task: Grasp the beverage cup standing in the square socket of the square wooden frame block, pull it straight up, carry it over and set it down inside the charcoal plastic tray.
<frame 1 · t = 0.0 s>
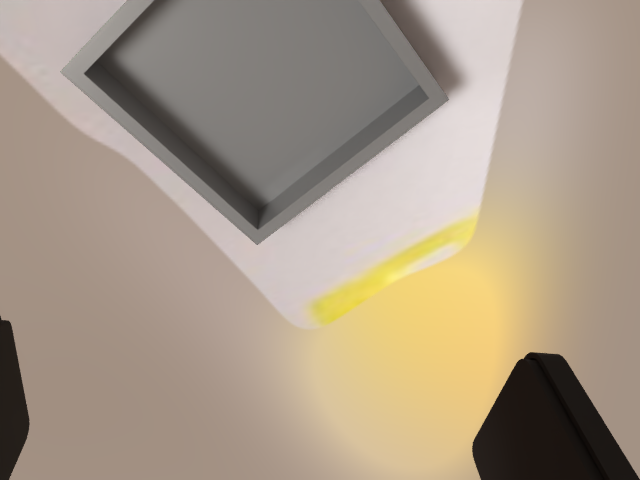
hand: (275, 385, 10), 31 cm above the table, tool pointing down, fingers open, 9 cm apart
tray: (263, 70, 37), on the table
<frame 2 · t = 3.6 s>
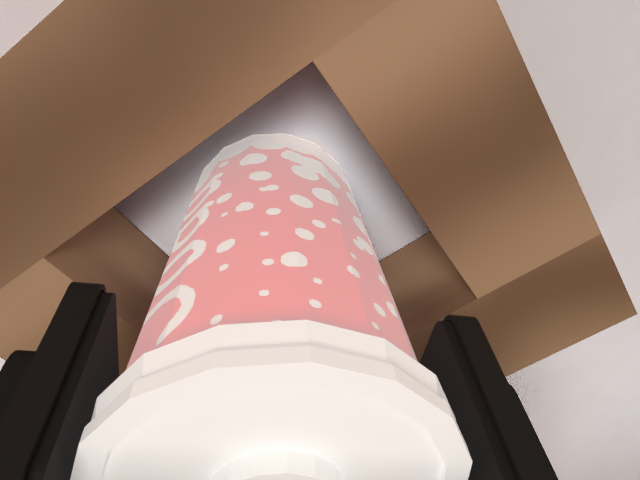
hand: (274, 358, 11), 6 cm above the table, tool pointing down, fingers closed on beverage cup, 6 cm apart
beverage cup: (274, 202, 16), resting in square wooden frame block, touching gripper
square wooden frame block: (274, 205, 16), on the table
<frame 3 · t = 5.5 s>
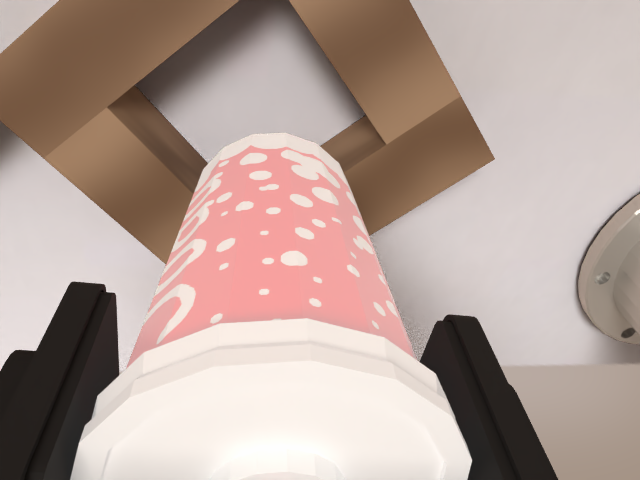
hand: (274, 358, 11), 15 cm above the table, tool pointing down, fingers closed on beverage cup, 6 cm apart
beverage cup: (274, 201, 16), point 9 cm above the table, touching gripper
square wooden frame block: (253, 95, 23), on the table
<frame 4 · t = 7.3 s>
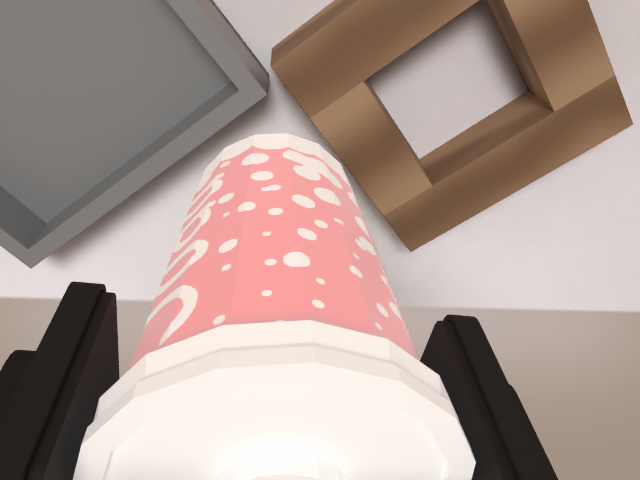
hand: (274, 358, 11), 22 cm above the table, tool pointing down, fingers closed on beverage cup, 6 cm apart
beverage cup: (275, 202, 16), point 16 cm above the table, touching gripper
square wooden frame block: (444, 76, 30), on the table
tray: (27, 36, 28), on the table
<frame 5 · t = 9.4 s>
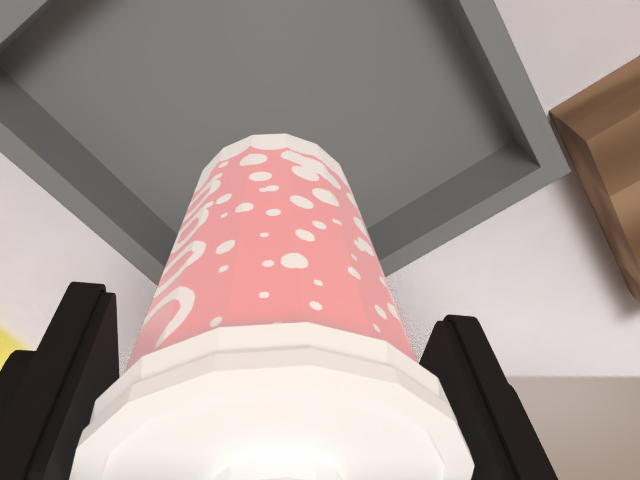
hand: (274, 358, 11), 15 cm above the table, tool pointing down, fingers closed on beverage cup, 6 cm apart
beverage cup: (274, 202, 16), point 9 cm above the table, touching gripper
tray: (275, 98, 23), on the table
when the fingers open (8 cm above the table, at t = 11.1 s): beverage cup drops 2 cm, resting on tray.
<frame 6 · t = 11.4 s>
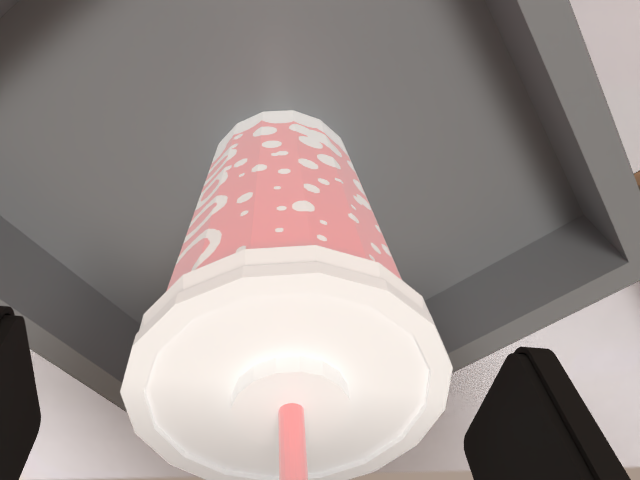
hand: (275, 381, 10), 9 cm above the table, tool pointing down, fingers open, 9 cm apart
beverage cup: (282, 174, 17), resting on tray
tray: (272, 166, 18), on the table
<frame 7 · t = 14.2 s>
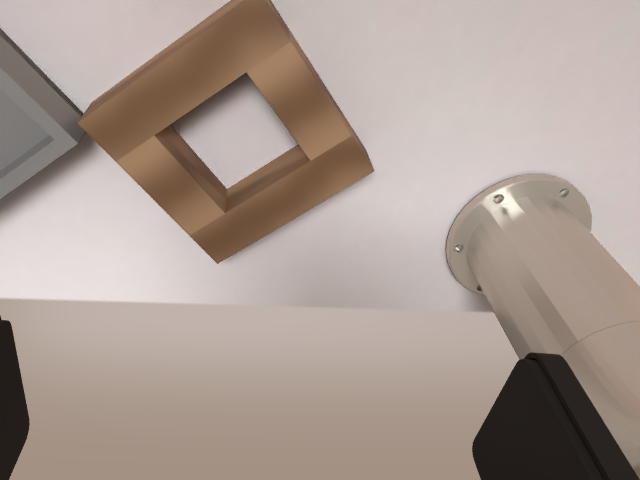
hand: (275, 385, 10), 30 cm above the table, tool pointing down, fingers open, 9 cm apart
square wooden frame block: (236, 127, 38), on the table
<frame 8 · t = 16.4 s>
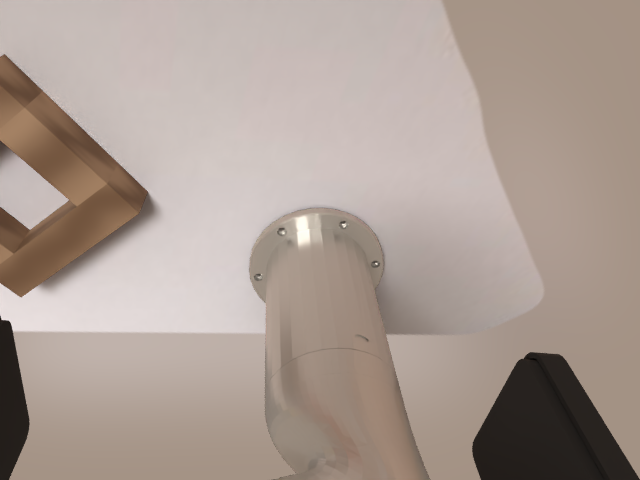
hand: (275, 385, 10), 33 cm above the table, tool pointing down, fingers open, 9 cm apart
square wooden frame block: (22, 177, 43), on the table
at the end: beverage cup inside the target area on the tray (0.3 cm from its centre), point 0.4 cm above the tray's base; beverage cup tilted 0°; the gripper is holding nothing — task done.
